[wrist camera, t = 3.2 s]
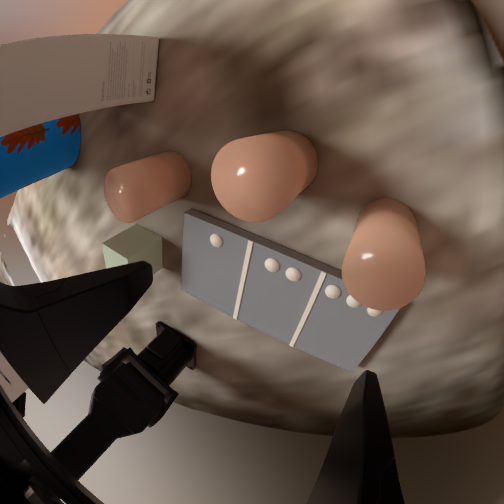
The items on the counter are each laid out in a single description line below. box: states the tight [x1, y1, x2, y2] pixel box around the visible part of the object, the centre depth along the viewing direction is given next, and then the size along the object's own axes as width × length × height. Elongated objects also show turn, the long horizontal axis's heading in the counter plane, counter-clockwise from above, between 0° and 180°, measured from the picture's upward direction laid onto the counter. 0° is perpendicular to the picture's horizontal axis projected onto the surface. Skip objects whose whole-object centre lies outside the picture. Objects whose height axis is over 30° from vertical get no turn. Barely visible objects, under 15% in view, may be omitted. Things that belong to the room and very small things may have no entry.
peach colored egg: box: [342, 198, 426, 311], centre depth 15 cm, size 4×4×6 cm
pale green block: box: [102, 224, 163, 274], centre depth 27 cm, size 4×4×5 cm
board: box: [181, 209, 400, 372], centre depth 23 cm, size 9×19×1 cm, turn 79°
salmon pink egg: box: [211, 130, 318, 222], centre depth 16 cm, size 4×4×6 cm
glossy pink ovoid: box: [104, 151, 191, 223], centre depth 21 cm, size 4×4×6 cm
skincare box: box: [0, 34, 159, 137], centre depth 14 cm, size 8×7×16 cm
